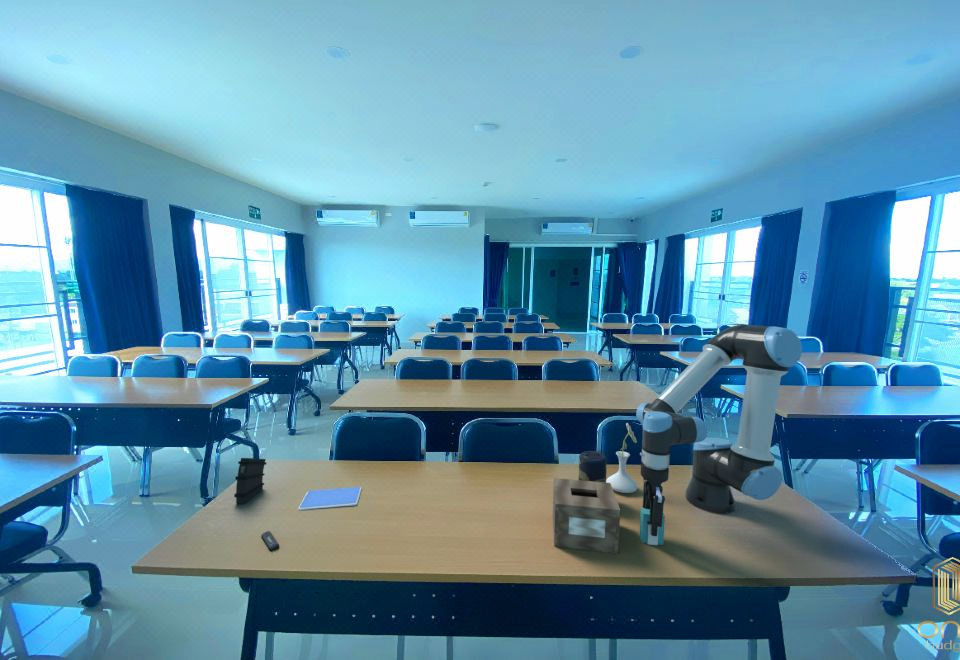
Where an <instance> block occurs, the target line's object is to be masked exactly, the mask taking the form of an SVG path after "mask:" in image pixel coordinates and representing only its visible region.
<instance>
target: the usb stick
mask: <svg viewBox="0 0 960 660" xmlns="http://www.w3.org/2000/svg"><path fill="white" fill-rule="evenodd" d="M260 537H261V538H262V540H263V542H264V543H265V545H266V546H267V548H268V549H269V551H271V552H274V551H276V550H278V549H279V548H280V544H279V543H278V541H277V539H276V538H275V537H274V535H273V533H272V532H271V531H270V530H267V531H265V532H263V533H262V534H261V535H260Z"/></svg>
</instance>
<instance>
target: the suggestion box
mask: <svg viewBox="0 0 960 660" xmlns="http://www.w3.org/2000/svg"><path fill="white" fill-rule="evenodd" d="M552 489H553V497H552V499H553V500H552V528H553V531H552V532H553V546H554V547H558V548H568V549H577V550H585V551H591V550H592V551H594V552H600V551H601V552H602V553H609V552H610V554H616V555H617V554H619V545H620V526H621V523H620V521H621V509H620V506H619V503H618V500H617V498H616V494H615V492H614V490H613V489H612V486H611V484H610V483H605V482H594V481H582V480H579V479H571V478H570V479H568V478H558V477H553V488H552Z"/></svg>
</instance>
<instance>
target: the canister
mask: <svg viewBox="0 0 960 660" xmlns="http://www.w3.org/2000/svg"><path fill="white" fill-rule="evenodd" d="M578 459H579V460H578V480H582V481H594V482H605V483H606V480H607V457H606V455H604V454H603V453H601V452H598V451H595V450H594V451H593V450H586V451H583V452H581V453H580V454H579V457H578Z"/></svg>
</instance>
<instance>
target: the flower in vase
mask: <svg viewBox="0 0 960 660" xmlns="http://www.w3.org/2000/svg"><path fill="white" fill-rule="evenodd" d="M625 426H626V429H627V431H628V432H627V434H626V435H625V437H624V439H623V442H622V448H620V451H616V452H615V455H617V458H618V463H619V464H618V471H616V473H614V474H612V475H610V476H609V477H606V483H610V484H611V486H612V489H613V491H615V492H617V493H621V494H622V493H623V494H630V493H634V492H636V491H637V490H638V484H637V482H636V481H635V480H634V479H633V478H632V477H631V476H629V474H628V473H627V471H626V465H627V461H628V459H629V457H630V456H631V454H630V452H627V451H624V450H627V449H628V448H627V447H628V444H627V443H626V439H627V437H629V436H630V438H631V440H632V441H633V443H635V444H636V443H637V442H638V441H637V438H636V436H635V435H634V434H635V433H634V431H632V427H631V425H630V424H629V423H628V422H627V423H625ZM621 450H622V451H621Z"/></svg>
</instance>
